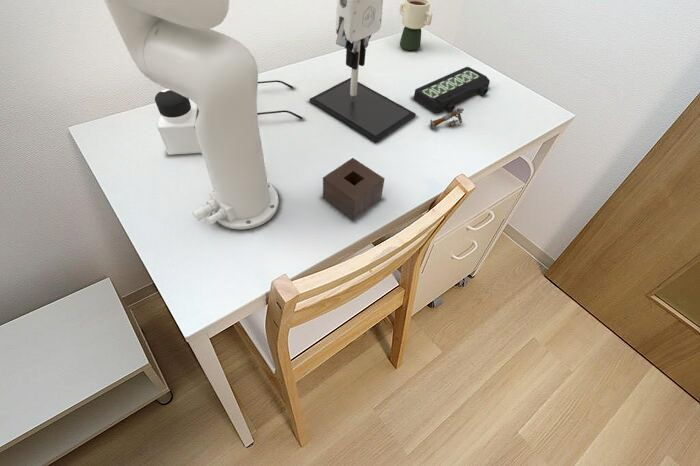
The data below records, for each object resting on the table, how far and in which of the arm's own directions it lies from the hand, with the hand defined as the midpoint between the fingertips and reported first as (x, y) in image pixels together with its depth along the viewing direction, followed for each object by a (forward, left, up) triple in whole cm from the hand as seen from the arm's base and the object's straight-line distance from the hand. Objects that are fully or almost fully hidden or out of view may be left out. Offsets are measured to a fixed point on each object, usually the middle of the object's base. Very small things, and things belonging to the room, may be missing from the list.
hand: (355, 64), depth 88 cm
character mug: (+35, +9, -10) cm, 38 cm away
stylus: (0, 0, -9) cm, 9 cm away
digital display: (+23, -15, -10) cm, 29 cm away
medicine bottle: (-38, +14, -10) cm, 42 cm away
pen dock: (-24, -22, -10) cm, 34 cm away
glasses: (-17, +14, -10) cm, 24 cm away
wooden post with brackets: (+10, -21, -10) cm, 26 cm away
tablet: (0, -3, -10) cm, 11 cm away
